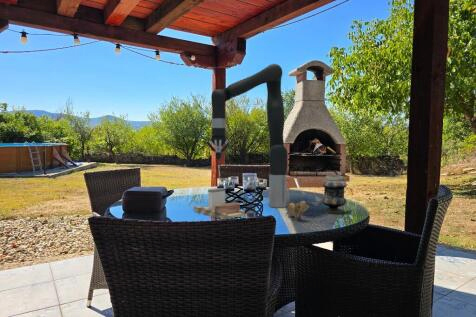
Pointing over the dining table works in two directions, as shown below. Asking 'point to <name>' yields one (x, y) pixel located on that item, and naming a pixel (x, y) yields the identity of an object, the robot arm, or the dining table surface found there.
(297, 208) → the lion figurine
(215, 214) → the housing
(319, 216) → the dining table surface
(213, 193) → the pale grey rectangular block
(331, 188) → the apothecary jar
